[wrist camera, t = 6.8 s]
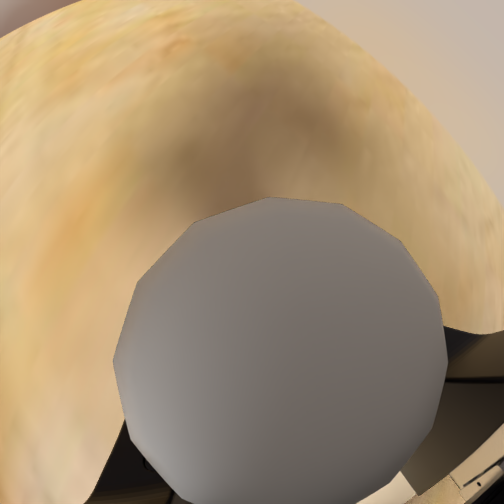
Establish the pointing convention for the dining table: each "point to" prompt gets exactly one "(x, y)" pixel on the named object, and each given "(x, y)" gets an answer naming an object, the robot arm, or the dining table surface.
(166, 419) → the salt shaker
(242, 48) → the dining table surface
